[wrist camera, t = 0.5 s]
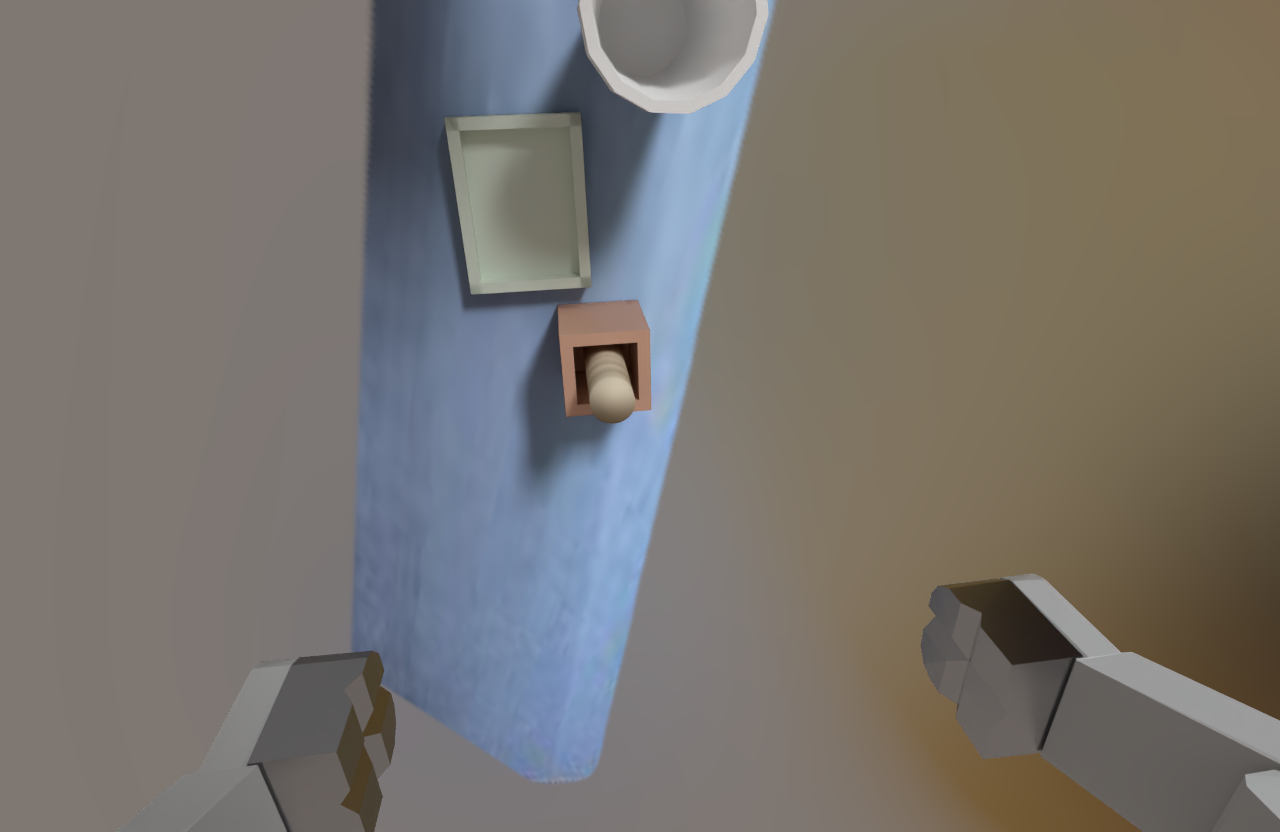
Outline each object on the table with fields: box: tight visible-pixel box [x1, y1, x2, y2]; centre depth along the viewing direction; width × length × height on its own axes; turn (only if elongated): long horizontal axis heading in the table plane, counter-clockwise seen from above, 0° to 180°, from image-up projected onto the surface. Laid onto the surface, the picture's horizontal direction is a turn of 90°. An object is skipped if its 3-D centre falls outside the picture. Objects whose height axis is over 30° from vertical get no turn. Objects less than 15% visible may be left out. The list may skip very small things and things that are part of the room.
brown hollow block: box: [558, 300, 651, 417], centre depth 50 cm, size 6×6×7 cm
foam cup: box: [577, 0, 768, 114], centre depth 38 cm, size 10×9×13 cm
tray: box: [444, 112, 592, 295], centre depth 47 cm, size 12×9×2 cm
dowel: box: [582, 344, 635, 424], centre depth 48 cm, size 3×3×11 cm
